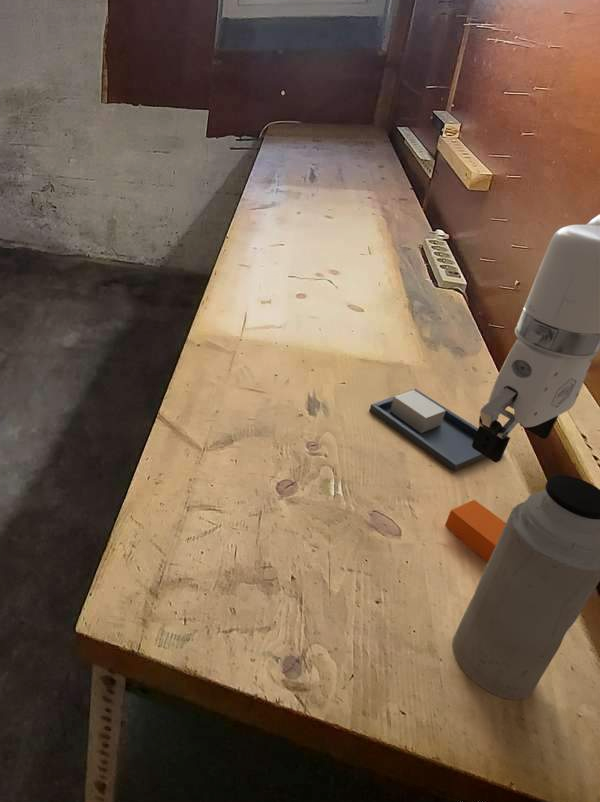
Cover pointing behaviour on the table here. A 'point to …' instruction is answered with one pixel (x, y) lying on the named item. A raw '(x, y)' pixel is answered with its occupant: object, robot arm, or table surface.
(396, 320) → the table surface
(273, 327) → the table surface
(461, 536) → the orange pad
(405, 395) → the grey pad
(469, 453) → the tray
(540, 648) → the thermos bottle
